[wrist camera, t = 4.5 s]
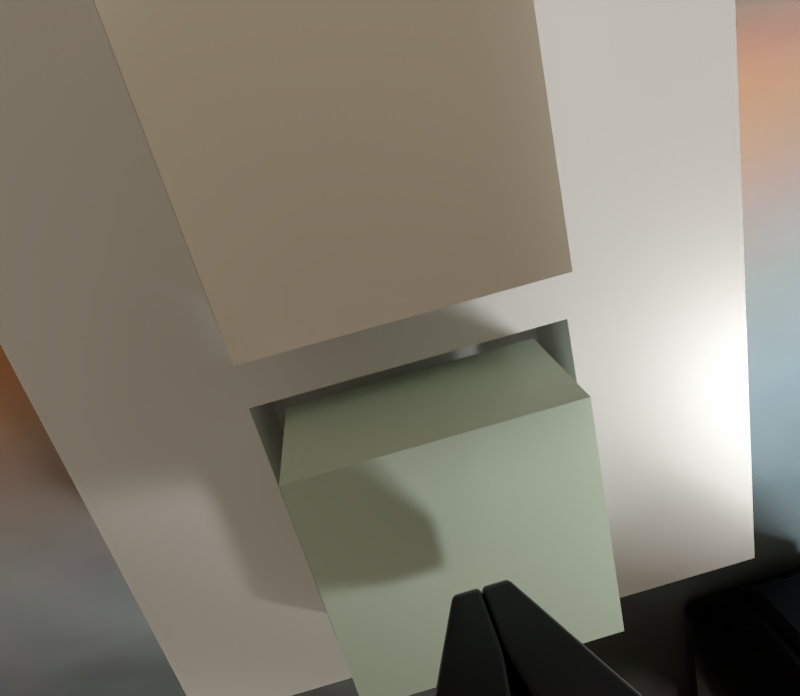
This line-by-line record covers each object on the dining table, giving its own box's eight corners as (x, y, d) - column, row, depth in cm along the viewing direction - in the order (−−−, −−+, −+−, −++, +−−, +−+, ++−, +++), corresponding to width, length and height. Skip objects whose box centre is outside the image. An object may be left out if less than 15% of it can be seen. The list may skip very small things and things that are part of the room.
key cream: (515, 236, 11) (572, 271, 8) (251, 309, 10) (232, 366, 8) (460, -78, 9) (512, -145, 6) (143, 4, 9) (79, -35, 6)
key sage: (568, 538, 13) (624, 630, 11) (355, 600, 13) (364, 709, 10) (533, 338, 11) (590, 396, 9) (286, 407, 11) (279, 485, 9)
